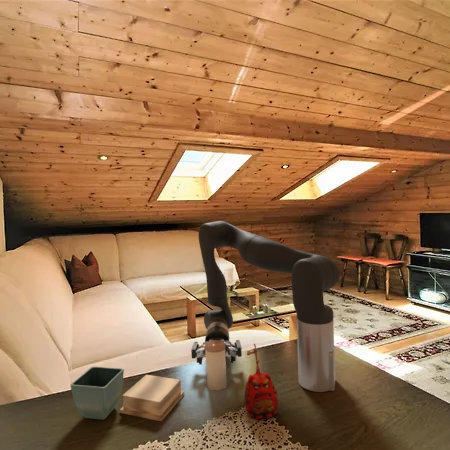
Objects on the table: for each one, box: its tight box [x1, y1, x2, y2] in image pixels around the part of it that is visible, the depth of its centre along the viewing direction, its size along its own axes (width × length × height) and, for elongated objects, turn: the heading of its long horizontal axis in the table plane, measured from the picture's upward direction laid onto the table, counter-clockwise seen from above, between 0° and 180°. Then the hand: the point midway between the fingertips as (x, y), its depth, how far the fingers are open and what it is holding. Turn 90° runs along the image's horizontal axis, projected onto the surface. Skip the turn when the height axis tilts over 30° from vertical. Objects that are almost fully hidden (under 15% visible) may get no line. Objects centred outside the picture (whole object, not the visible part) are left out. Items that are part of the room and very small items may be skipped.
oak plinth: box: [119, 374, 185, 422], centre depth 82 cm, size 11×11×4 cm
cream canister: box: [205, 340, 228, 391], centre depth 89 cm, size 5×5×11 cm
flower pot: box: [70, 366, 125, 421], centre depth 79 cm, size 9×9×9 cm
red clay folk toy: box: [244, 343, 279, 420], centre depth 77 cm, size 8×7×15 cm
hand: (216, 360), depth 91 cm, fingers open, 8 cm apart
